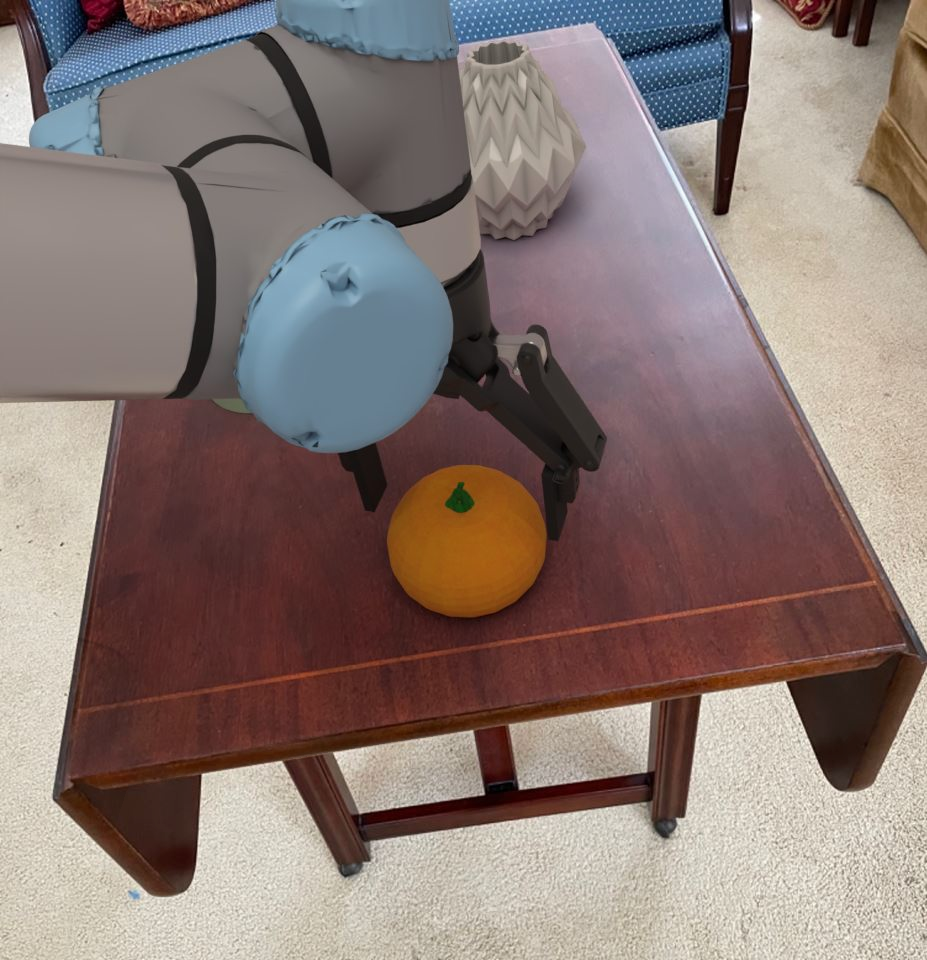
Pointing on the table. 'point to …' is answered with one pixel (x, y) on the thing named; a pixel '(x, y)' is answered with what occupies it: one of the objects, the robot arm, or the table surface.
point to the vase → (516, 139)
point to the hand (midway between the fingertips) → (464, 511)
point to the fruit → (466, 541)
